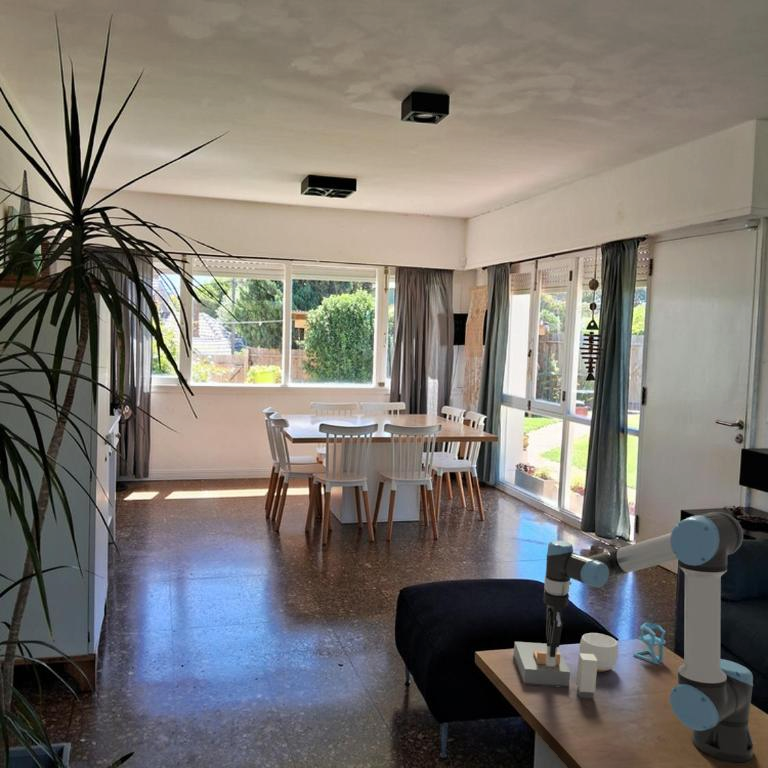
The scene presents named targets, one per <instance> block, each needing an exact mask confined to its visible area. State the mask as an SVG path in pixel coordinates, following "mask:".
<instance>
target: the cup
mask: <svg viewBox="0 0 768 768" xmlns="http://www.w3.org/2000/svg"><path fill="white" fill-rule="evenodd" d="M579 653H585V654H594V656H595V657H596V659H597V660H598V663H597V673H603V672H606V671H609V670H611V669H612V668H614V667H615V665H616V663H617V660H618V659H619V658H618V657H619V656H618V655H619V645H618V641H617V640H616V639H615V638H614V637H612V636H610V635H606V634H604V633H598V632H589V633H584V634H583V635H581V639H580V642H579Z"/></svg>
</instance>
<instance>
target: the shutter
mask: <svg viewBox="0 0 768 768" xmlns="http://www.w3.org/2000/svg"><path fill="white" fill-rule="evenodd" d="M560 653H561V652H560ZM560 653H559V652H557V653H556V665H560ZM533 654H534V657H535V659H536V661H537V664H546V654H547V652H545V651H534V652H533Z"/></svg>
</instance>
